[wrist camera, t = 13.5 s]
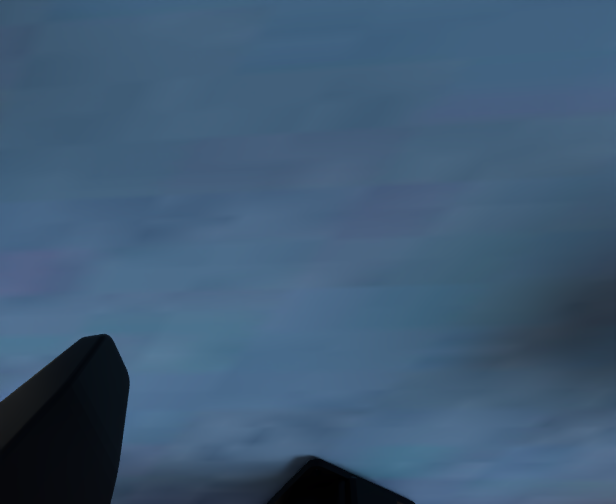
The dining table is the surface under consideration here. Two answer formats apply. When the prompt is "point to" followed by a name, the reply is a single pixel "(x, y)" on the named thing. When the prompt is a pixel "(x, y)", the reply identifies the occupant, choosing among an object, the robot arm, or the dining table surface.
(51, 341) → the dining table surface
